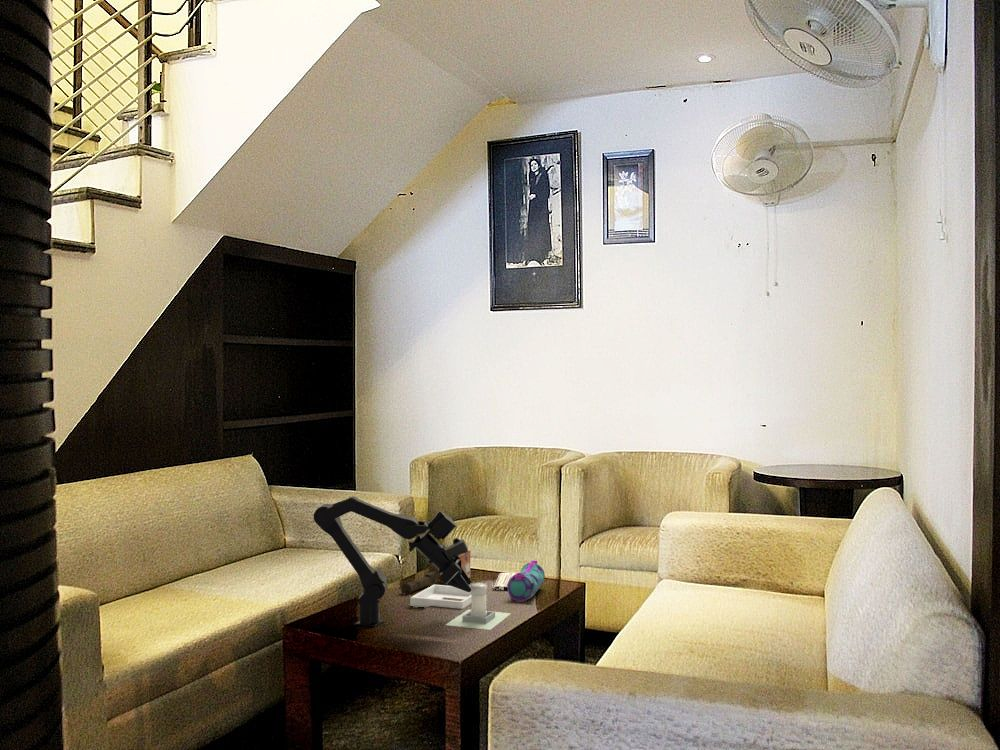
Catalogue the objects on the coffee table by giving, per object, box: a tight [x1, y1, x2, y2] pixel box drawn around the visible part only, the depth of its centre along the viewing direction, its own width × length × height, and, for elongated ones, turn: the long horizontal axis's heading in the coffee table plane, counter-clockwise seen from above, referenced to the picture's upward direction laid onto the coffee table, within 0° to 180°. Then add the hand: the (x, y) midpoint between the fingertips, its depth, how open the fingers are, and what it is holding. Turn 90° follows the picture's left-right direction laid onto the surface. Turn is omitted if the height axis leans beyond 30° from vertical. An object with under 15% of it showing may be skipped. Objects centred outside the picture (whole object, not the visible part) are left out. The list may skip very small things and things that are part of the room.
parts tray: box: [409, 584, 472, 610], centre depth 275 cm, size 18×18×3 cm
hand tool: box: [400, 571, 438, 595], centre depth 293 cm, size 19×4×5 cm, turn 148°
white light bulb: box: [470, 582, 488, 618], centre depth 252 cm, size 5×5×10 cm
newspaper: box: [492, 572, 517, 591], centre depth 300 cm, size 23×12×2 cm, turn 174°
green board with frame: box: [445, 608, 512, 631], centre depth 252 cm, size 18×14×2 cm
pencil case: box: [506, 560, 545, 603], centre depth 284 cm, size 21×9×10 cm, turn 166°
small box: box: [457, 549, 471, 579], centre depth 306 cm, size 8×6×10 cm
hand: (470, 587), depth 252 cm, fingers open, 9 cm apart
